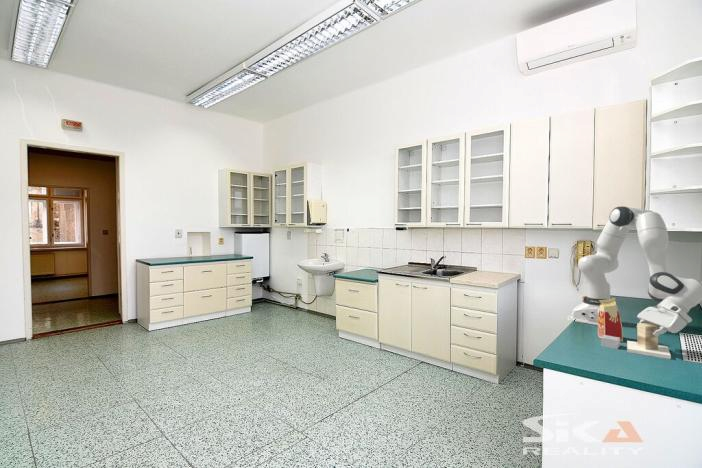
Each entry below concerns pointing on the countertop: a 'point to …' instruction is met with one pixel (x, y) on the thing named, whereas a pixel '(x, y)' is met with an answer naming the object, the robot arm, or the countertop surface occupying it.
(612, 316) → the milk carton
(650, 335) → the maple block
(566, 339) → the countertop surface
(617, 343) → the grey plastic box
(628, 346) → the off-white board
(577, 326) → the countertop surface
